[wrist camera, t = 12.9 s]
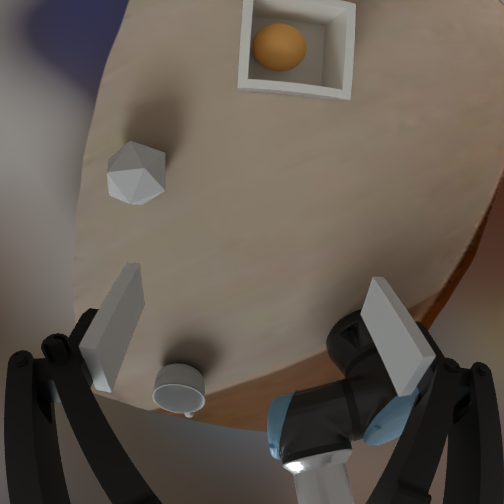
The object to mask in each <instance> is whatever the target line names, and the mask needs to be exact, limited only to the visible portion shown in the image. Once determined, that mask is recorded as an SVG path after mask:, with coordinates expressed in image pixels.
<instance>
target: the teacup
mask: <svg viewBox="0 0 504 504" xmlns="http://www.w3.org/2000/svg"><path fill="white" fill-rule="evenodd" d="M152 397H153V400H154V402H155V403H156V404H157V405H158V406H160V407H161V408H163V409H165V410H168V411H171V412H176V413H185V416H186V417H193V415H194V412H195V411H197V410H199V409H201V408H202V407H203V406H204V404H205V387H204V380H203V377H202V375H201V374H200V372H199V371H197V370H196V369H195V368H193V367H191V366H189V365H186V364H182V363H175V364H170V365H167V366H165V367H163V368H162V369H161V370H160V371H159V372H158V374H157V377H156V381H155V385H154V391H153V394H152Z"/></svg>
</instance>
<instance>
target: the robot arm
mask: <svg viewBox="0 0 504 504" xmlns="http://www.w3.org/2000/svg"><path fill="white" fill-rule="evenodd" d="M144 305H145V301H144V294H143V286H142V277H141V268H140V263H128V262H127V264H126V265H125V267H124V268H123V270H122V272H121V273H120V275H119V276H118V278H117V280H116V281H115V283H114V285H113V286H112V288H111V290H110V291H109V293H108V295H107V296H106V298H105V300H104V301H103V303H102V305H101V307H100V308H99V309H92V308H90V309H88V310H87V311H86V312H85V313H83V314H82V316H81V317H80V319H79V321H78V323H77V324H76V326H75V329H73V331H72V333H71V335H70V336H69V338H68V337H67V336H66V335H64V334H59V333H57V334H52V335H50V336H48V337H47V338H46V339H44V341H43V343H42V345H41V349H42V352H43V354H44V356H45V358H39V359H34V358H33V356H32V355H31V353H30V352H28V351H23V350H21V351H18V352H16V353H14V354H13V355H12V356H11V357H10V359H9V362H8V369H7V379H6V391H5V412H4V442H5V443H4V444H5V462H6V474H7V484H8V491H9V498H10V504H71V503H70V499H69V495H68V491H67V486H66V482H65V477H64V472H63V467H62V462H61V456H60V450H59V443H58V437H57V429H56V420H55V409H54V402H62V405H63V407H64V410H65V412H66V415H67V418H68V420H69V422H70V425H71V427H72V429H73V431H74V434H75V436H76V438H77V440H78V442H79V445H80V447H81V449H82V451H83V453H84V455H85V457H86V459H87V461H88V463H89V464H90V466H91V468H92V470H93V472H94V474H95V476H96V477H97V479H98V481H99V483H100V484H101V486H102V488H103V489H104V491H105V493H106V494H107V496H108V498H109V499H110V501H111V502H112V504H162V503H161V501H160V500H159V499H158V497H157V496H156V495H155V494H154V492H153V491H152V490H151V488H150V487H149V486H148V484H147V483H146V482H145V480H144V479H143V477H142V476H141V474H140V473H139V472H138V470H137V469H136V467H135V466H134V464H133V463H132V462H131V460H130V458H129V457H128V455H127V453H126V452H125V450H124V449H123V447H122V445H121V444H120V442H119V441H118V439H117V437H116V435H115V434H114V432H113V431H112V429H111V427H110V425H109V423H108V422H107V420H106V418H105V416H104V414H103V412H102V411H101V409H100V407H99V405H98V403H97V401H96V399H95V397H94V395H93V393H92V391H91V389H90V388H91V385H92V383H94V385H95V388H96V389H97V390H101V391H106V392H111V393H112V390H113V387H114V384H115V381H116V378H117V376H118V373H119V370H120V367H121V364H122V362H123V359H124V356H125V353H126V351H127V348H128V345H129V343H130V340H131V338H132V335H133V332H134V330H135V327H136V325H137V322H138V320H139V317H140V315H141V312H142V310H143V308H144ZM326 346H327V350H328V353H329V356H330V358H331V360H332V361H333V362H334V363H335V364H336V366H337V367H338V368H339V369H340V371H341V372H342V373H343V374H344V375H345V378H346V379H343V380H339V381H336V382H332V383H328V384H325V385H321V386H317V387H313V388H309V389H305V390H300V391H297V390H296V391H294V392H292V393H289V394H285V395H282V396H278V397H276V398H275V399H274V400H273V401H272V402H271V405H270V407H269V412H268V441H269V443H270V452H271V454H272V456H273V457H274V458H277V459H282V463H283V467H284V468H285V469H287V470H289V471H290V472H292V473H293V475H294V479H295V485H296V491H297V496H298V497H297V498H298V503H299V504H354V500H353V495H352V490H351V486H350V481H349V476H348V471H347V467H346V461H347V459H348V458H349V456H350V455H351V453H352V452H353V451H352V447H351V442H353V441H356V440H359V439H363V440H364V442H365V443H366V444H367V445H370V446H371V445H372V446H374V445H380V444H383V443H386V442H388V441H391V440H393V439H395V438H396V437H398V436H400V435H401V436H400V438H399V441H398V443H397V445H396V447H395V449H394V452H393V454H392V456H391V458H390V460H389V462H388V464H387V466H386V468H385V470H384V472H383V474H382V476H381V478H380V479H379V482H378V483H377V485H376V487H375V488H374V490H373V492H372V494H371V496H370V497H369V499H368V501H367V502H366V504H430V502H431V495H429V494H428V492H429V489H430V486H431V483H432V481H433V478H434V475H435V472H436V470H437V467H438V464H439V461H440V458H441V455H442V452H443V448H444V445H445V441H446V438H447V434H448V454H447V469H446V481H445V490H444V498H443V504H504V462H503V446H502V435H501V426H500V419H499V411H498V405H497V399H496V393H495V388H494V383H493V378H492V373H491V370H490V369H489V368H488V366H487V365H485V364H484V363H481V362H476V363H474V364H473V366H472V367H471V369H466V368H460V366H459V364H458V363H457V362H456V361H454V360H453V359H450V358H445V357H444V355H443V354H442V352H441V350H440V349H439V347H438V346H437V344H436V343H435V341H433V338H432V337H431V335H430V334H429V332H428V330H427V329H426V327H424V326H423V325H422V324H421V323H420V322H415V321H414V320H413V318H412V317H411V315H410V314H409V312H408V311H407V309H406V308H405V307H404V305H403V304H402V302H401V301H400V299H399V298H398V296H397V295H396V293H395V292H394V291H393V289H392V288H391V286H390V285H389V283H388V282H387V281H386V279H385V278H384V277H373V278H372V281H371V284H370V287H369V290H368V293H367V296H366V299H365V302H364V305H363V308H362V310H359V311H356V312H354V313H352V314H350V315H348V316H346V317H345V318H343V319H342V320H341V321H339V322H338V323H337V324H336V325H335V326H334V327H333V329H332V330H331V332H330V333H329V335H328V338H327V342H326Z"/></svg>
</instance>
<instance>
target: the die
mask: <svg viewBox="0 0 504 504" xmlns="http://www.w3.org/2000/svg"><path fill="white" fill-rule="evenodd" d="M107 179H108V188H109V195H110V196H112V197H114V198H117V199H119V200H121V201H124V202H126V203H128V204H136V205H143V204H145V203H146V202H148V201H149V200H151V199H153V198H154V197H156V196H157V195H159V194H161V193H162V192H164V191H165V152H162V151H159V150H156V149H153V148H151V147H148V146H145V145H142V144H139V143H136V142H133V141H129V142H128V143H127V144H126V145H125V146H123V147H122V148H121V149H120V150H119V151H118V152H117V153H116V154H115V155H113V156H112V157H111V158H110V159H109V164H108V169H107Z"/></svg>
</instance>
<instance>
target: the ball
mask: <svg viewBox="0 0 504 504" xmlns="http://www.w3.org/2000/svg"><path fill="white" fill-rule="evenodd" d="M252 49H253V53H254V56H255V58H256V59H257V60H258V62H259V63H260V64H261V65H263V66H264V67H266V68H268V69H270V70H274V71H286V70H290V69H292V68H294V67H296V66H297V65H299V64H300V63H301V61H302V60H303V59H304V57H305V54H306V42H305V39H304V37H303V36H302V34H301V33H300V32H299V31H298V30H297V29H296V28H294V27H292V26H290V25H287V24H283V23H274V24H270V25H267V26H265V27H263V28H262V29H261V30H259V31H258V33H257V34H256V35H255V37H254V40H253V44H252Z"/></svg>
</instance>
